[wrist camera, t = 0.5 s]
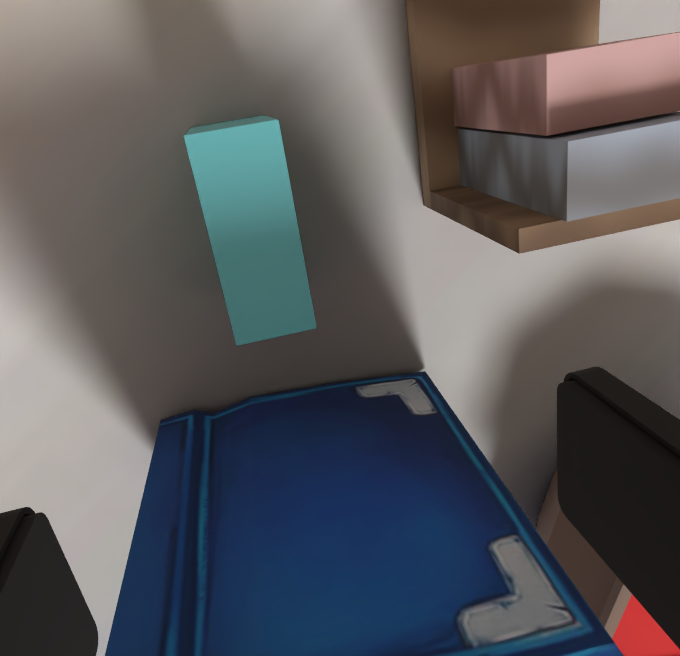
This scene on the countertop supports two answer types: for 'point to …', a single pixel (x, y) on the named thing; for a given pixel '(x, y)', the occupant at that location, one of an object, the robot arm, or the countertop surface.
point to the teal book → (252, 226)
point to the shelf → (543, 120)
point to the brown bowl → (600, 585)
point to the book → (339, 537)
